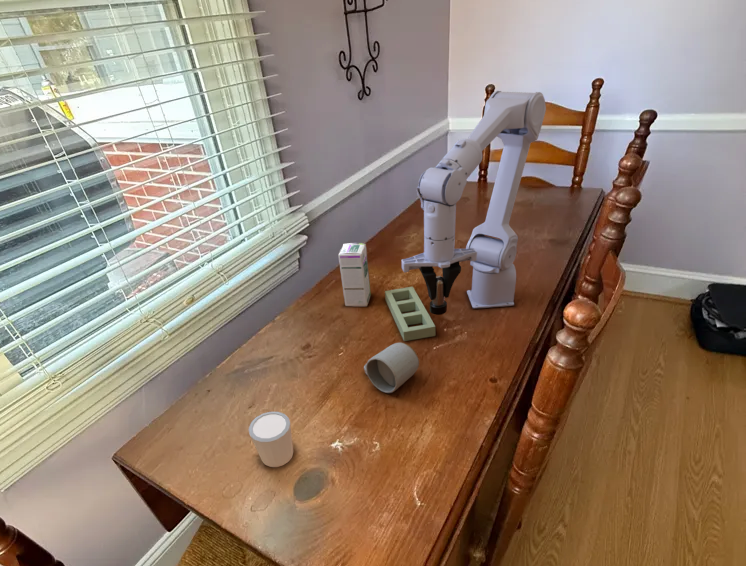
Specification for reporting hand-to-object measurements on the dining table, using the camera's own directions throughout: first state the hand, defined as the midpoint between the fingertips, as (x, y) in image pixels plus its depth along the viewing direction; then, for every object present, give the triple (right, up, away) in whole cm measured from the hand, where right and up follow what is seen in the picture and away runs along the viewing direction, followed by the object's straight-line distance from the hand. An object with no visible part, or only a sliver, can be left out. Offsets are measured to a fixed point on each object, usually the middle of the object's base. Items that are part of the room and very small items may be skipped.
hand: (438, 296), depth 98 cm
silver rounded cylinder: (0, -3, +2) cm, 3 cm away
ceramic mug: (-11, -17, -3) cm, 20 cm away
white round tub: (-31, -29, -16) cm, 45 cm away
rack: (-4, -3, +14) cm, 15 cm away
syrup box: (-16, +1, +22) cm, 27 cm away
